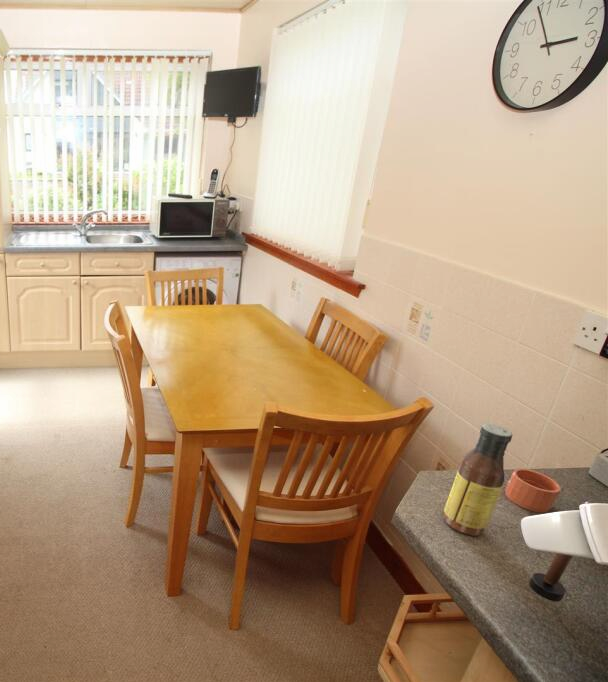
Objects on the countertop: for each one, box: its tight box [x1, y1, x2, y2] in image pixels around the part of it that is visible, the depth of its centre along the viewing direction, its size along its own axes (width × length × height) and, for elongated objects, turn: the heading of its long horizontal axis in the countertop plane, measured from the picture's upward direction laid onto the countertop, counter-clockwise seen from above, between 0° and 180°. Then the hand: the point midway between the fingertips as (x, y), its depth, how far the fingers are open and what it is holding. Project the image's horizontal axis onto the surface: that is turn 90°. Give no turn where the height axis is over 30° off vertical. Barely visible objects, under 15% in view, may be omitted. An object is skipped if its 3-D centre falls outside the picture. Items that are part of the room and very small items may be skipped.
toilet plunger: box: [528, 500, 596, 602], centre depth 64 cm, size 4×4×16 cm
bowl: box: [504, 468, 562, 514], centre depth 92 cm, size 7×7×5 cm
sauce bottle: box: [443, 423, 513, 537], centre depth 82 cm, size 6×6×20 cm
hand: (566, 539), depth 65 cm, fingers closed on toilet plunger
